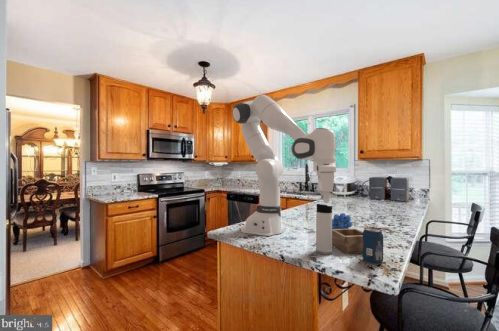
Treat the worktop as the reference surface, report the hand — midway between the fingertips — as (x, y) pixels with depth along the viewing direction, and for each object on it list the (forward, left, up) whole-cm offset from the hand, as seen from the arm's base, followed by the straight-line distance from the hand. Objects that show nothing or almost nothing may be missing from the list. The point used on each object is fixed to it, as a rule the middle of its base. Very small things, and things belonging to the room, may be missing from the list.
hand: (324, 201), depth 96 cm
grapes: (+11, +26, -21) cm, 35 cm away
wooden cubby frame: (+12, +8, -21) cm, 26 cm away
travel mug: (0, 0, -21) cm, 21 cm away
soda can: (+17, -5, -21) cm, 28 cm away
